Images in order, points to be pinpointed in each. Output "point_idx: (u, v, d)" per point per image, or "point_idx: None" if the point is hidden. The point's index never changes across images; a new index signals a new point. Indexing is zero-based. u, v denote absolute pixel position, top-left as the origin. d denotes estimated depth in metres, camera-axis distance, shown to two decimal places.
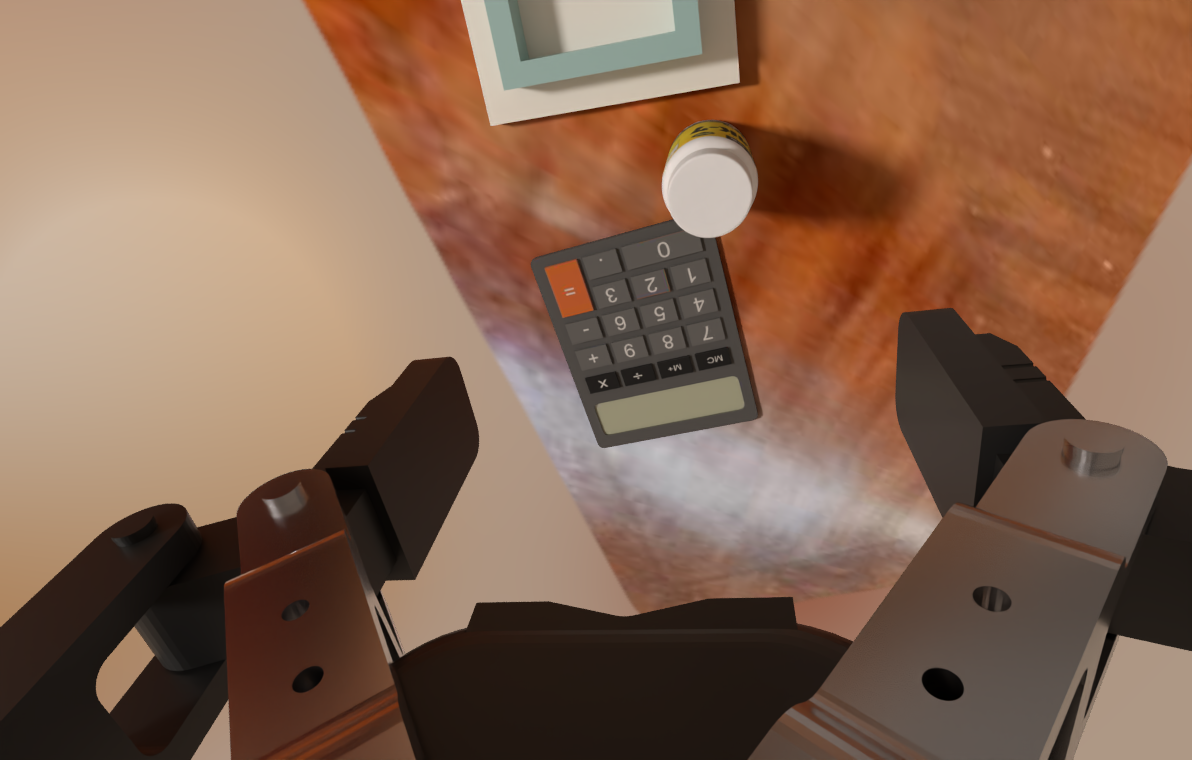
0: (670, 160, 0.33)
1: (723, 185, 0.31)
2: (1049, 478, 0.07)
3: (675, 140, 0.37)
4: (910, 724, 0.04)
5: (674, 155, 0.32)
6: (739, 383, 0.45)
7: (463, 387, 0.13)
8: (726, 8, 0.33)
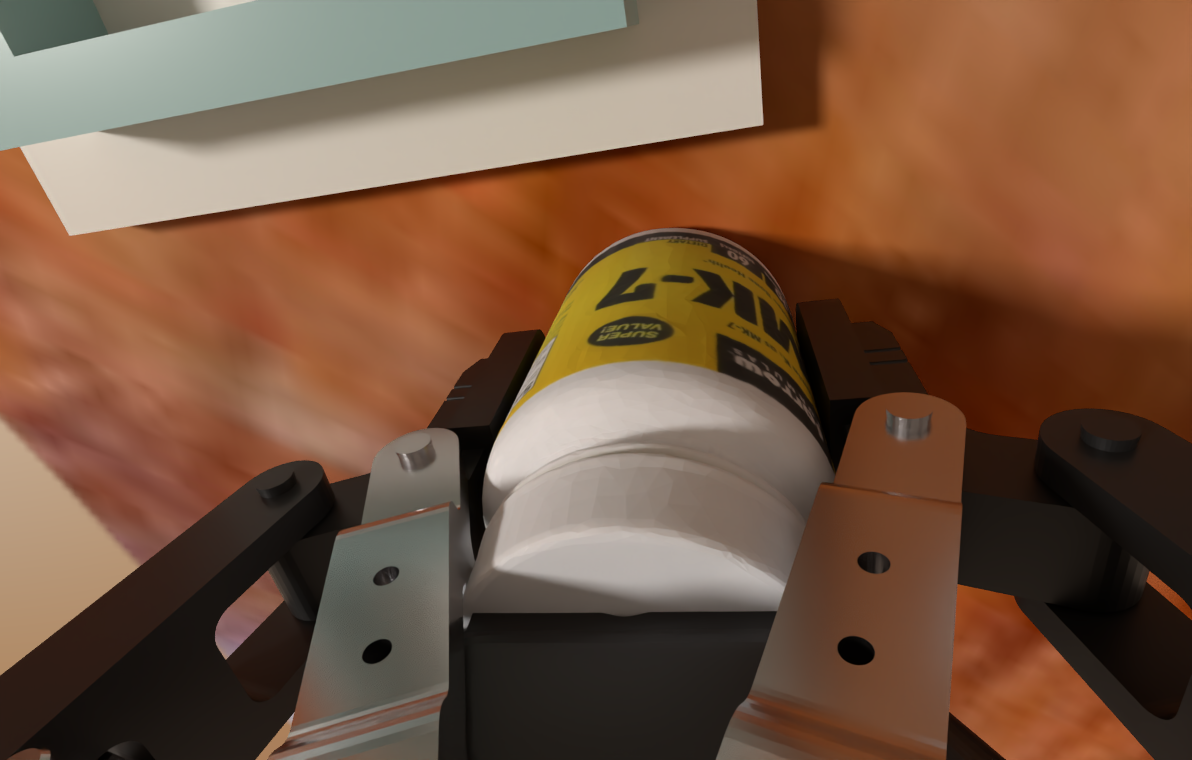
0: (501, 440, 0.08)
1: None
2: (883, 447, 0.07)
3: (571, 289, 0.12)
4: (840, 695, 0.04)
5: (513, 426, 0.08)
6: None
7: None
8: None
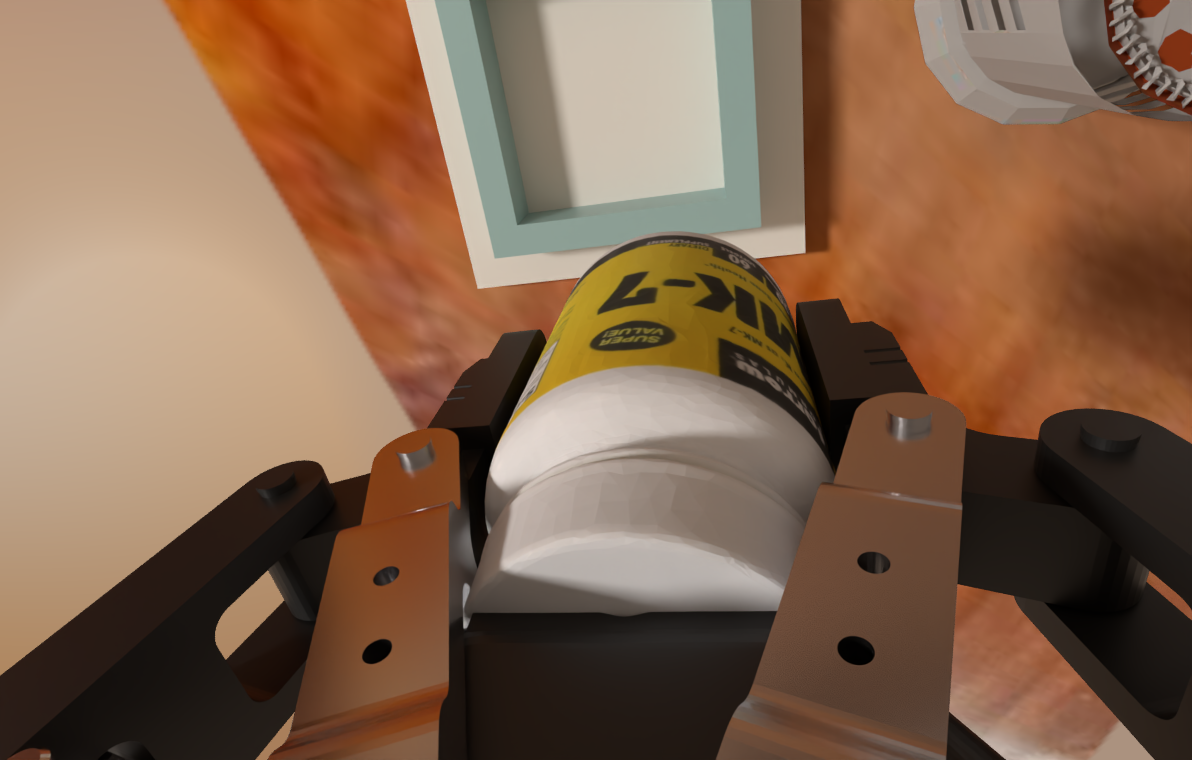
0: (503, 444, 0.08)
1: None
2: (883, 447, 0.07)
3: (572, 292, 0.12)
4: (840, 695, 0.04)
5: (515, 431, 0.08)
6: None
7: None
8: (792, 163, 0.25)
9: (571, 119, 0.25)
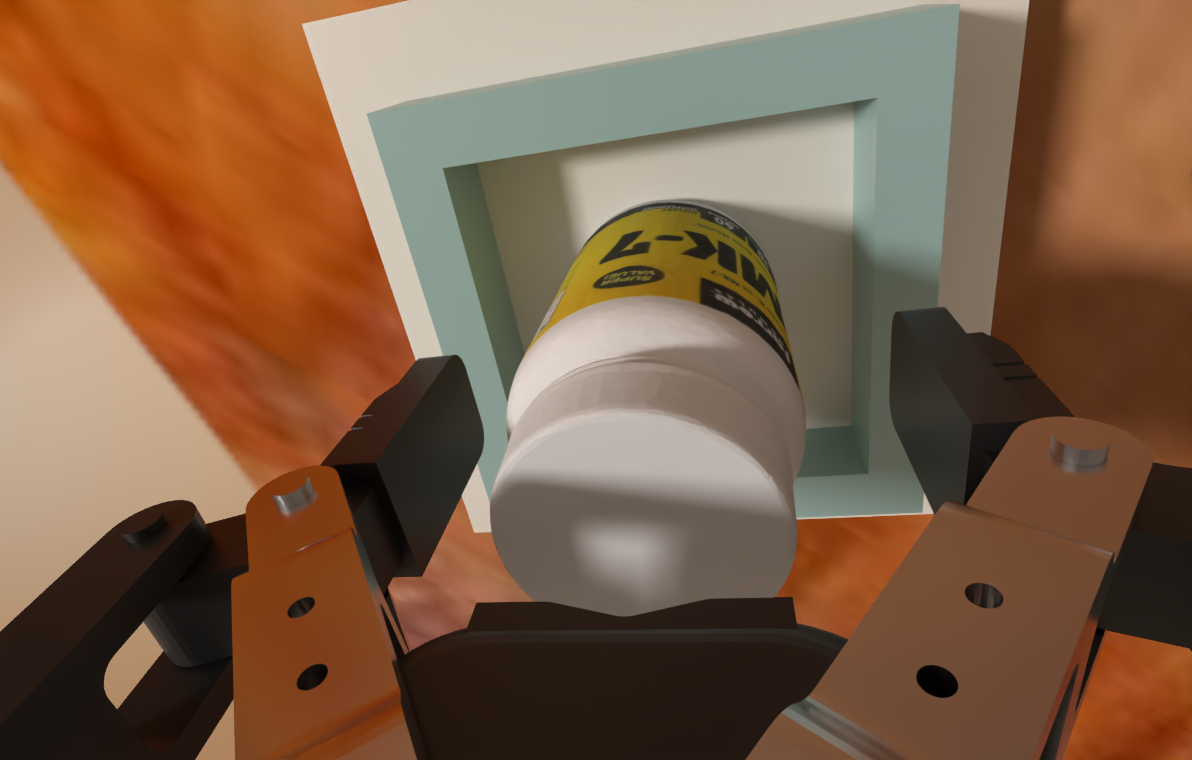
0: (522, 367, 0.10)
1: (685, 512, 0.08)
2: (1038, 475, 0.07)
3: (578, 255, 0.14)
4: (906, 722, 0.04)
5: (532, 355, 0.10)
6: None
7: (469, 385, 0.13)
8: None
9: None
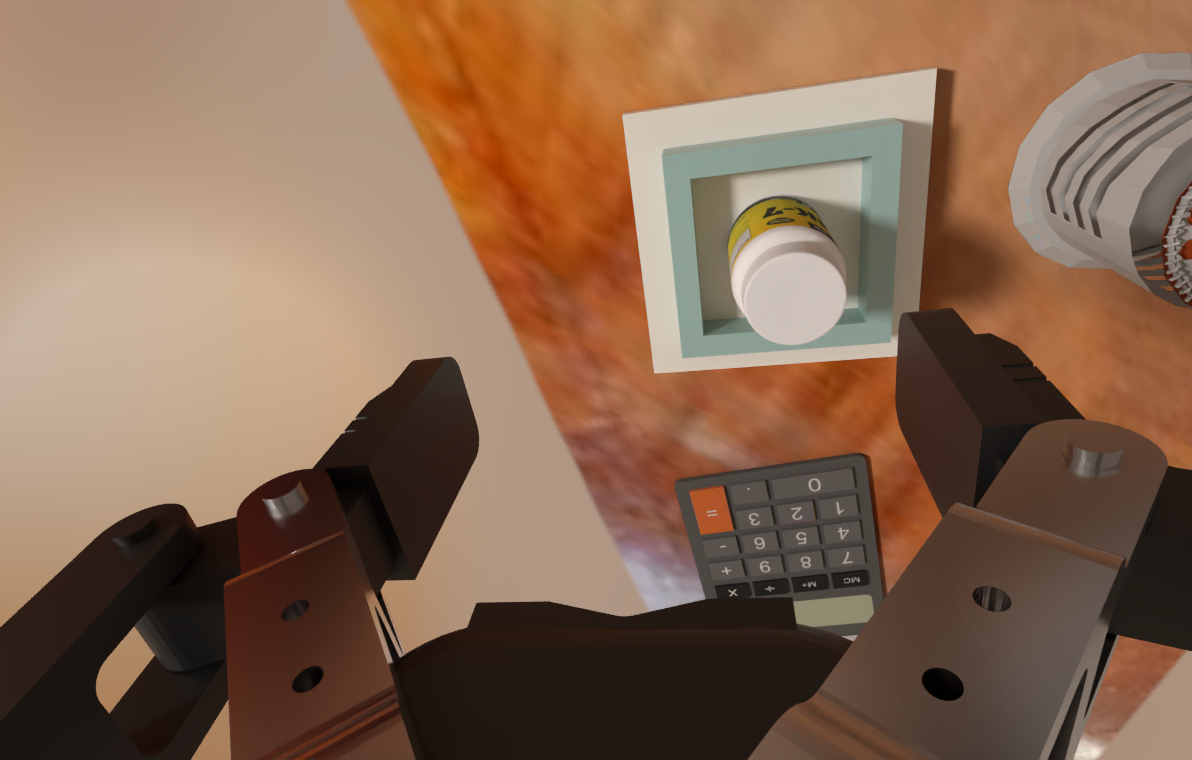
0: (743, 252, 0.28)
1: (811, 288, 0.26)
2: (1049, 478, 0.07)
3: (739, 219, 0.32)
4: (910, 724, 0.04)
5: (748, 247, 0.28)
6: (872, 601, 0.45)
7: (463, 387, 0.13)
8: (911, 292, 0.34)
9: None
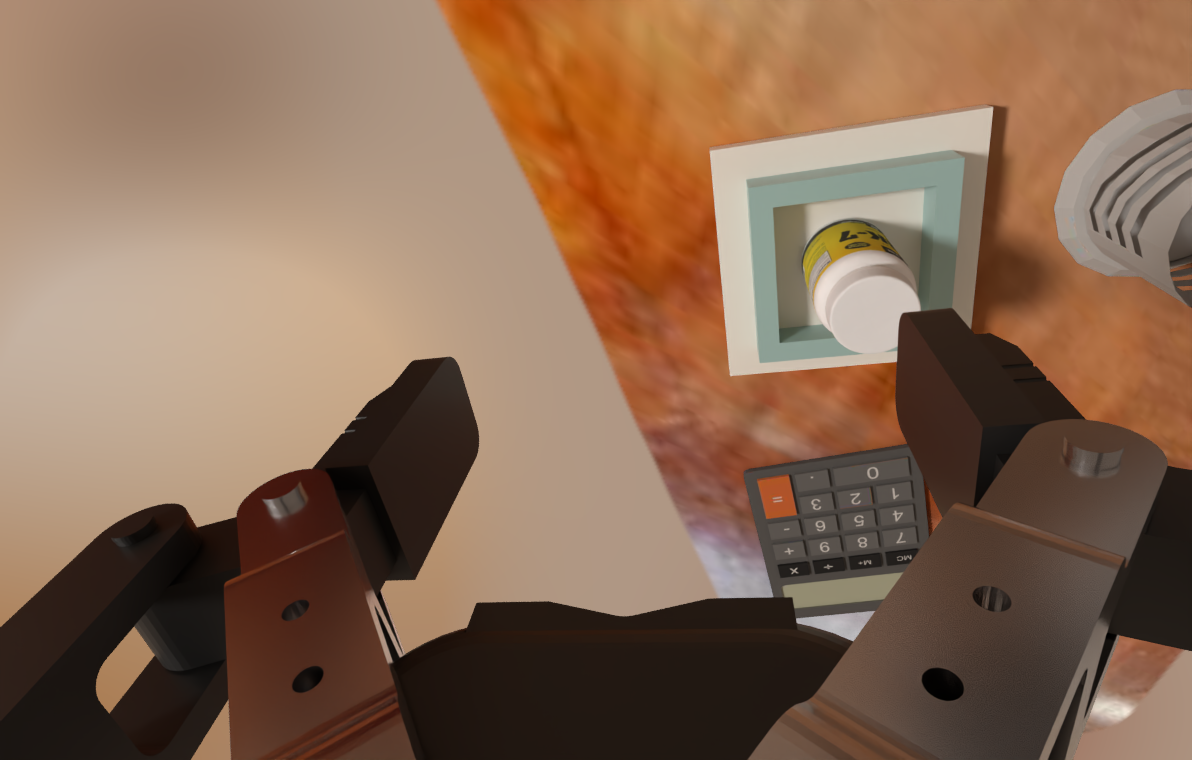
0: (826, 273, 0.32)
1: (890, 305, 0.30)
2: (1049, 478, 0.07)
3: (814, 240, 0.36)
4: (910, 724, 0.04)
5: (831, 269, 0.32)
6: None
7: (463, 387, 0.13)
8: (966, 301, 0.38)
9: None
